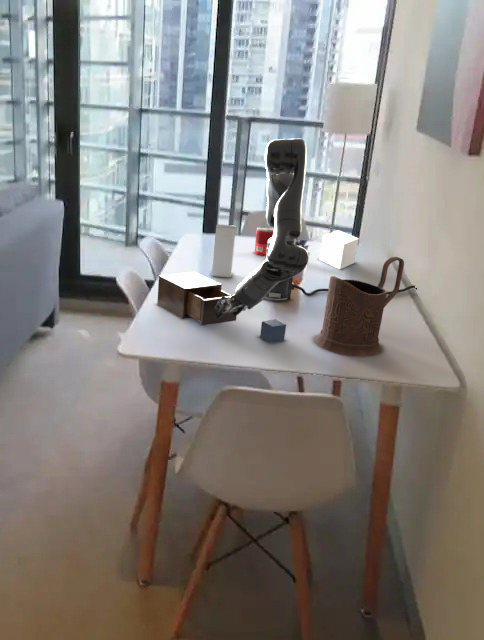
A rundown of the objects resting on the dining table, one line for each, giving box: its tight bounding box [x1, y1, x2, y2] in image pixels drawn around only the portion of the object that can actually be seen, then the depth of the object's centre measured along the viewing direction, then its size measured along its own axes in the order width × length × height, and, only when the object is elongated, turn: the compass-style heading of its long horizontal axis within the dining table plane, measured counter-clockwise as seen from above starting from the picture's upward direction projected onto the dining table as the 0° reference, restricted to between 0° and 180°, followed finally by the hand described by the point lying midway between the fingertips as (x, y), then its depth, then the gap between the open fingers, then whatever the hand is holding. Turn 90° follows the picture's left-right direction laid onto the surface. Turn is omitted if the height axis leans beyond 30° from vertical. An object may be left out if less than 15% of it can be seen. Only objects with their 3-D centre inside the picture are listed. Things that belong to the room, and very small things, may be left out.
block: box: [259, 319, 287, 344], centre depth 209 cm, size 5×5×5 cm
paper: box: [319, 229, 360, 270], centre depth 301 cm, size 14×29×10 cm, turn 170°
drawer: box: [185, 288, 238, 327], centre depth 221 cm, size 19×13×8 cm, turn 28°
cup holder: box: [315, 256, 405, 357], centre depth 205 cm, size 18×24×25 cm
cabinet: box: [156, 271, 223, 320], centre depth 231 cm, size 16×14×10 cm
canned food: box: [254, 225, 274, 257], centre depth 307 cm, size 8×8×11 cm
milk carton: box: [211, 223, 237, 278], centre depth 271 cm, size 7×7×19 cm
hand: (225, 314), depth 215 cm, fingers closed on drawer, 5 cm apart
